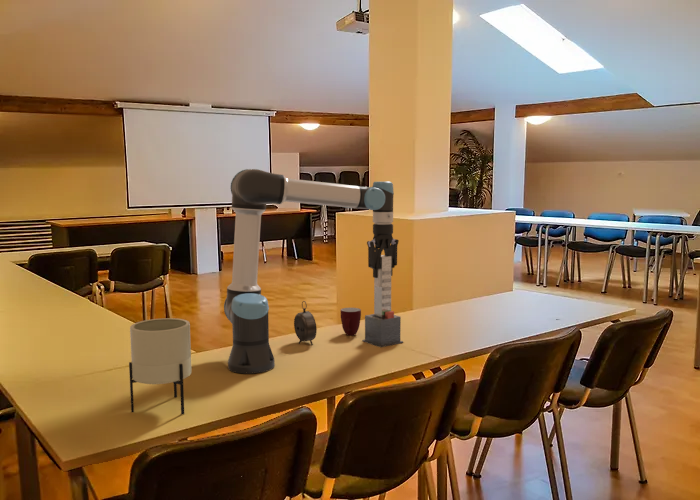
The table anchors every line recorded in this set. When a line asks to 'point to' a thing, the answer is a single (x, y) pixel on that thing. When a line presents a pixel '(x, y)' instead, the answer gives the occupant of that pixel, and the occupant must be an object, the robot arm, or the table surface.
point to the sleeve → (382, 330)
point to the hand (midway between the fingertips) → (382, 285)
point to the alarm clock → (305, 326)
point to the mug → (350, 320)
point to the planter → (160, 353)
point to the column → (383, 288)
